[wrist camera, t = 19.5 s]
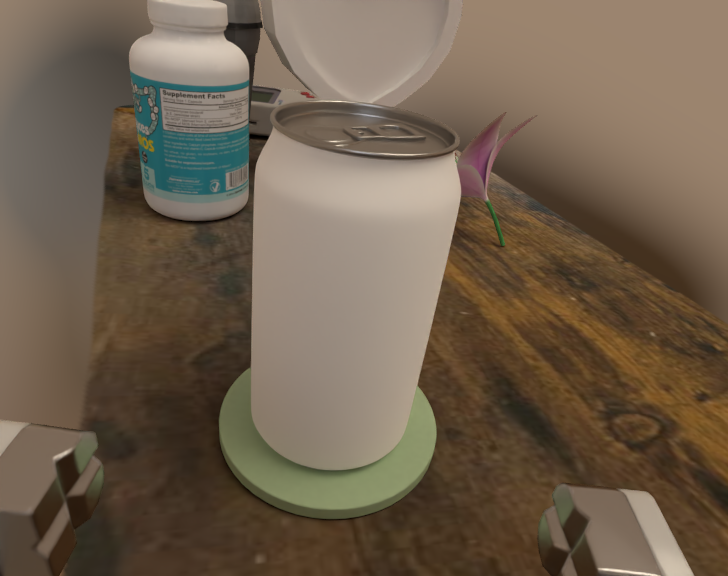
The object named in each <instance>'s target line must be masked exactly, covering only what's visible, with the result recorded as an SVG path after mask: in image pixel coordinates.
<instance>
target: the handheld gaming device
mask: <svg viewBox="0 0 728 576" xmlns="http://www.w3.org/2000/svg"><path fill="white" fill-rule="evenodd" d="M307 100H322V99H320V98H319V97H318V96H316V95H315V94H314V93H308V92H302V91H296V90H289V89H282V88H275V87H267V86H259V85H253V87H252V98H251V109H250V120H249V134H252V135H261V136H269V137H270V135H271V132H272V129H273V125H272V123H271V121H270V115H271V113H272V111H273V110H274V109H275V108H277V107H279V106H281V105H284V104H287V103H292V102H298V101H307Z"/></svg>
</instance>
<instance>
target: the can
mask: <svg viewBox="0 0 728 576" xmlns="http://www.w3.org/2000/svg"><path fill="white" fill-rule="evenodd" d="M270 121H271V123H272V125H273V129H272V132H271V135H270V137H269V139H268V141H267V142H266V144H265V146H264V148H263V150H262V152H261V154H260V156H259V158H258V161H257V163H256V170H255V183H254V216H253V272H252V339H251V413H252V419H253V422H254V424H255V427H256V429H257V430H258V432H259V434H260V435H261V436H262V438H263V439H264V440H265V441H266V443H267V444H268V445H269V446H270V447H271V448H272V449H273V450H275V451H276V452H277V453H279V454H280V455H282V456H283V457H285V458H287V459H289V460H291V461H293V462H295V463H297V464H300V465H302V466H305V467H309V468H313V469H318V470H325V471H342V470H349V469H354V468H358V467H362V466H365V465H368V464H371V463H373V462H375V461H377V460H379V459H381V458H383V457H384V456H385V455H387V454H388V453H389V452H391V451H392V450H393V449H394V448H395V447H396V445H397V444H398V443H399V441H400V440H401V438H402V436H403V434H404V432H405V429H406V426H407V423H408V419H409V415H410V411H411V407H412V404H413V400H414V395H415V391H416V387H417V383H418V379H419V375H420V371H421V367H422V363H423V358H424V354H425V350H426V346H427V342H428V338H429V334H430V329H431V325H432V321H433V317H434V313H435V308H436V304H437V300H438V296H439V292H440V287H441V283H442V279H443V275H444V270H445V266H446V262H447V258H448V253H449V249H450V245H451V241H452V236H453V232H454V228H455V223H456V219H457V214H458V209H459V204H460V198H461V184H460V179H459V174H458V170H457V166H456V162H455V155H454V154H455V150H456V149H457V148H458V146H459V143H460V139H459V136H458V134H457V133H456V132H455V131H454V130H453V129H451V128H450V127H448V126H447V125H445V124H443V123H441V122H439V121H437V120H435V119H432V118H429V117H427V116H424V115H421V114H418V113H414V112H411V111H407V110H403V109H399V108H394V107H389V106H384V105H378V104H372V103H364V102H356V101H344V100H307V101H298V102H292V103H287V104H284V105H281V106H279V107H277V108H275V109H274V110H273V111H272V113H271V115H270Z"/></svg>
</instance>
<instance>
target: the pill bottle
mask: <svg viewBox="0 0 728 576" xmlns="http://www.w3.org/2000/svg"><path fill="white" fill-rule="evenodd" d="M147 7H148V17H149V18H150V22H151V23H152V24H153V25H154V29H153V32H152V33H151V34H148V35H145V36H143V37H141V38H139V39H138V40H137V41H135V43H134V44H133V45H132V47H131V49H130V53H129V63H130V74H131V83H132V90H133V100H134V109H135V117H136V126H137V135H138V144H139V153H140V162H141V171H142V181H143V189H144V196H145V199H146V201H147V203H148V204H149V206H150V207H151V208H152V209H154V210H155V211H157V212H158V213H160V214H162V215H165V216H167V217H171V218H175V219H179V220H187V221H210V220H217V219H221V218H225V217H228V216H231V215H233V214H235V213H237V212H239V211H240V210H241V209H242V208H243V207H244V206H245V205H246V203H247V201H248V196H249V63H248V60H247V58H246V56H245V54H244V53H243V51H242V50H241V49H240V48H239V47H237V46H236V45H235V44H233V43H231V42H229V41H227V40H226V38H225V36H224V30H226V26H227V25H228V16H227V5H226V4H224V3H221V2H218V1H213V0H147Z"/></svg>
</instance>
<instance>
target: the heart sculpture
mask: <svg viewBox="0 0 728 576" xmlns="http://www.w3.org/2000/svg"><path fill="white" fill-rule="evenodd" d="M462 3H463V0H261V7H262V15H263V23H264V29H265V31H266V33H267V35H268V37H269V39H270V41H271V43H272V45H273V47H274V48H275V50H276V52H277V54H278V56H279V58H280V60H281V62H282V64H283V65H284V66H285V67H286V68H287V69H289V71H290V72H291V73H292V74H293V75H294V76H295V77H296V78H297V79H298V80H299V81H300V82H301V83H302V84H303V85H304V86H305V87H306V88H307V89H309V90H310V91H311V92H312V93H314V94H315V95H316V96H318V97H319V98H320V99H322V100H344V101H356V102H364V103H372V104H378V105H384V106H389V107H394V106H395V105H397V104H399V103H400V102H402V101H404V100H405V99H406V98H407V97H409V96H410V95H411V94H412V93H414V92H415V91H416V90H417V89H419V88H420V87H421V86H422V85H423V84H425V83H426V82H427V81H428V80H429V79H430V78H431V76H432V75H433V74H434V72H435V71H436V70H437V68H438V67H439V65H440V64H441V63H442V61H443V60H444V58H445V57H446V56H447V54H448V53H449V52H450V49H451V46H452V43H453V40H454V37H455V34H456V31H457V28H458V25H459V22H460V19H461V15H462Z"/></svg>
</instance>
